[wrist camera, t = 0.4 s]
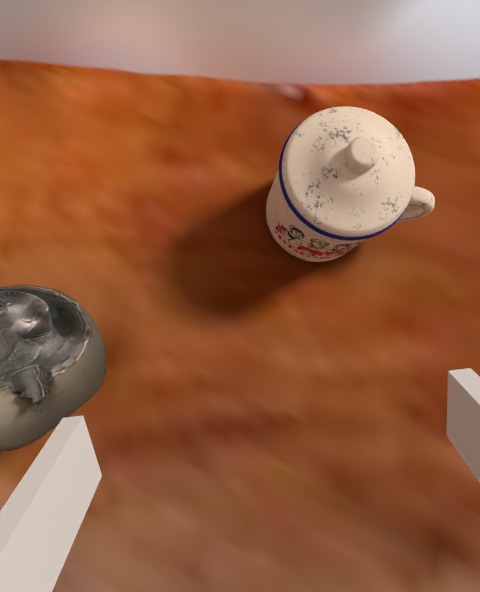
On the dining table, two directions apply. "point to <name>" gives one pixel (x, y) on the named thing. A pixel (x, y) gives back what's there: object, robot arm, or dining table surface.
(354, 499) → the dining table surface
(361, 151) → the teacup with lid
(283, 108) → the dining table surface
